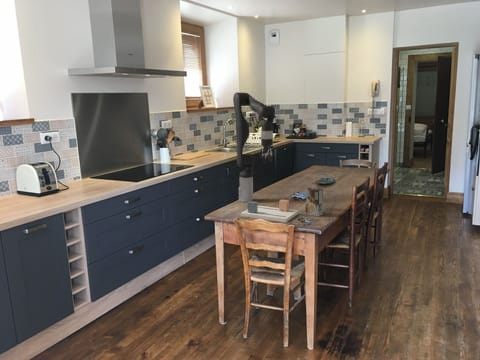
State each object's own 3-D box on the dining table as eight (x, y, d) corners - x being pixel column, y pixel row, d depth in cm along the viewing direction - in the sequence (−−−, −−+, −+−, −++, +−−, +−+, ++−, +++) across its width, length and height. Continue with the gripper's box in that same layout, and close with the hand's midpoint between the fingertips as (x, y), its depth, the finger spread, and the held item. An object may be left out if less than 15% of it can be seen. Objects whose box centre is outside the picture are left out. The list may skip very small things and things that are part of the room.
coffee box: (323, 214, 255) (323, 188, 252) (318, 216, 250) (319, 190, 247) (309, 212, 260) (309, 187, 257) (305, 214, 255) (305, 189, 252)
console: (241, 215, 254) (240, 212, 254) (255, 208, 271) (255, 205, 271) (286, 222, 240) (286, 218, 239) (298, 213, 257) (298, 210, 256)
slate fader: (247, 211, 254) (247, 202, 252) (250, 210, 257) (250, 201, 255) (255, 212, 251) (254, 203, 250) (257, 211, 254) (257, 202, 253)
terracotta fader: (279, 210, 256) (279, 200, 255) (281, 208, 259) (281, 199, 258) (286, 211, 254) (286, 201, 253) (288, 209, 257) (288, 200, 256)
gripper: (266, 136, 269) (266, 161, 272) (256, 138, 257) (256, 164, 260) (277, 137, 265) (277, 161, 269) (267, 139, 253) (267, 165, 256)
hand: (267, 163), depth 264 cm, fingers open, 8 cm apart
